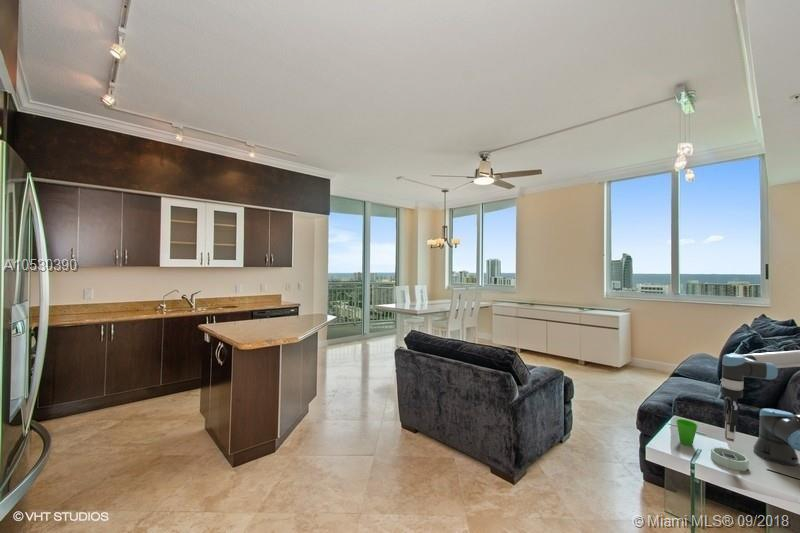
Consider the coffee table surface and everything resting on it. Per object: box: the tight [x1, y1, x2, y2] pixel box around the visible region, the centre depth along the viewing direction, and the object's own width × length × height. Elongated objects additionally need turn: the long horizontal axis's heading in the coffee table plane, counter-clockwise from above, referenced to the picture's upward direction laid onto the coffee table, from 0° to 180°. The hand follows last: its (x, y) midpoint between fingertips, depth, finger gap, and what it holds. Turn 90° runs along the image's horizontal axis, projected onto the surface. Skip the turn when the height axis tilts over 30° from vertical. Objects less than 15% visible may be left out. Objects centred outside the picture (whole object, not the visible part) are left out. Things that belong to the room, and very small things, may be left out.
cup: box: [675, 418, 699, 446], centre depth 183 cm, size 9×9×11 cm
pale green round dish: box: [710, 446, 750, 471], centre depth 166 cm, size 13×13×4 cm
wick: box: [724, 413, 735, 442], centre depth 166 cm, size 2×2×12 cm
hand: (729, 436), depth 166 cm, fingers closed on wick, 2 cm apart
